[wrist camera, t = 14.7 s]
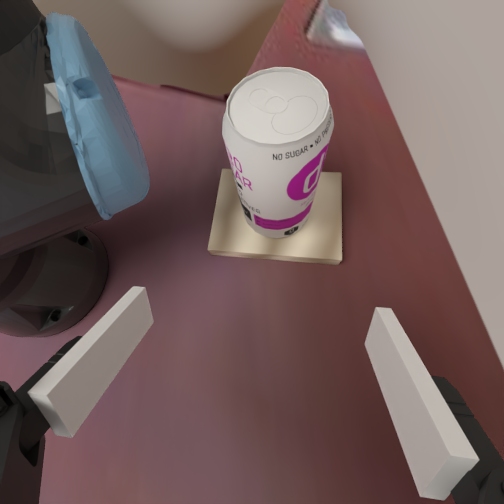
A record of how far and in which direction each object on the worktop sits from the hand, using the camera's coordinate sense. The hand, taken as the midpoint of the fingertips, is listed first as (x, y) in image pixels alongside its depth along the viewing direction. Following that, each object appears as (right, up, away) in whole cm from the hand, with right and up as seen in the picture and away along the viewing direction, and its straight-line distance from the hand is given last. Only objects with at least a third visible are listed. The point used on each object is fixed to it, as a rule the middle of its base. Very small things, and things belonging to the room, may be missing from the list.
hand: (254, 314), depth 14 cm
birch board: (+3, +8, +18) cm, 20 cm away
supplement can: (+3, +9, +17) cm, 19 cm away
